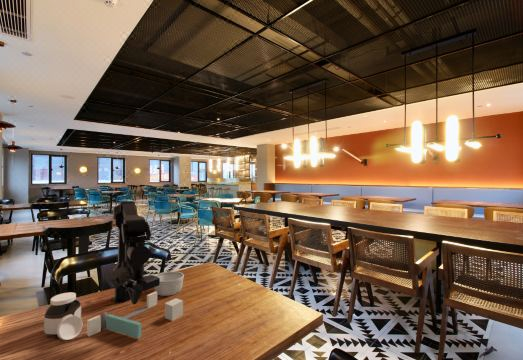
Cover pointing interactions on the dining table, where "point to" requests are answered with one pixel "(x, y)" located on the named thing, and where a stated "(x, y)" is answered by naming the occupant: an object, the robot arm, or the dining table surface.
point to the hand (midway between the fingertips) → (134, 303)
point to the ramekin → (169, 283)
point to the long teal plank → (123, 326)
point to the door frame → (99, 321)
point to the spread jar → (63, 317)
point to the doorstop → (173, 309)
